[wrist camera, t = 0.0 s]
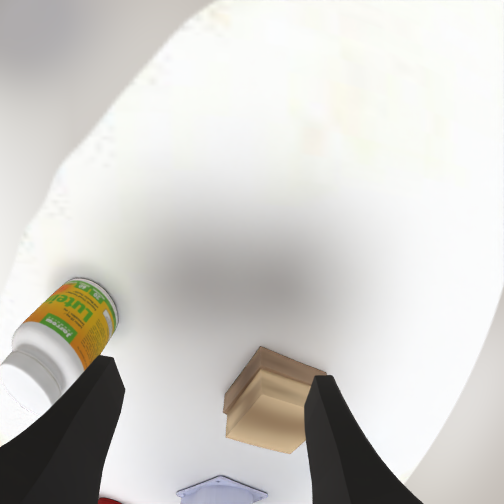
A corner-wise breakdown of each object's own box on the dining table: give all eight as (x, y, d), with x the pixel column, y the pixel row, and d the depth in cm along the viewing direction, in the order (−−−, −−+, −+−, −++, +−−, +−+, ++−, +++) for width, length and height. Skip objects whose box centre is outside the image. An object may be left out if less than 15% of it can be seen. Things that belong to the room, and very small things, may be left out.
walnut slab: (285, 412, 26) (287, 433, 24) (225, 391, 25) (223, 412, 23) (325, 369, 24) (330, 390, 22) (260, 343, 23) (261, 365, 21)
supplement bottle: (118, 283, 21) (50, 372, 12) (121, 343, 23) (72, 436, 14) (57, 270, 21) (-22, 341, 12) (64, 328, 23) (5, 405, 13)
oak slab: (287, 431, 23) (290, 454, 21) (227, 413, 22) (225, 437, 20) (326, 390, 22) (332, 414, 19) (261, 368, 21) (261, 394, 18)
